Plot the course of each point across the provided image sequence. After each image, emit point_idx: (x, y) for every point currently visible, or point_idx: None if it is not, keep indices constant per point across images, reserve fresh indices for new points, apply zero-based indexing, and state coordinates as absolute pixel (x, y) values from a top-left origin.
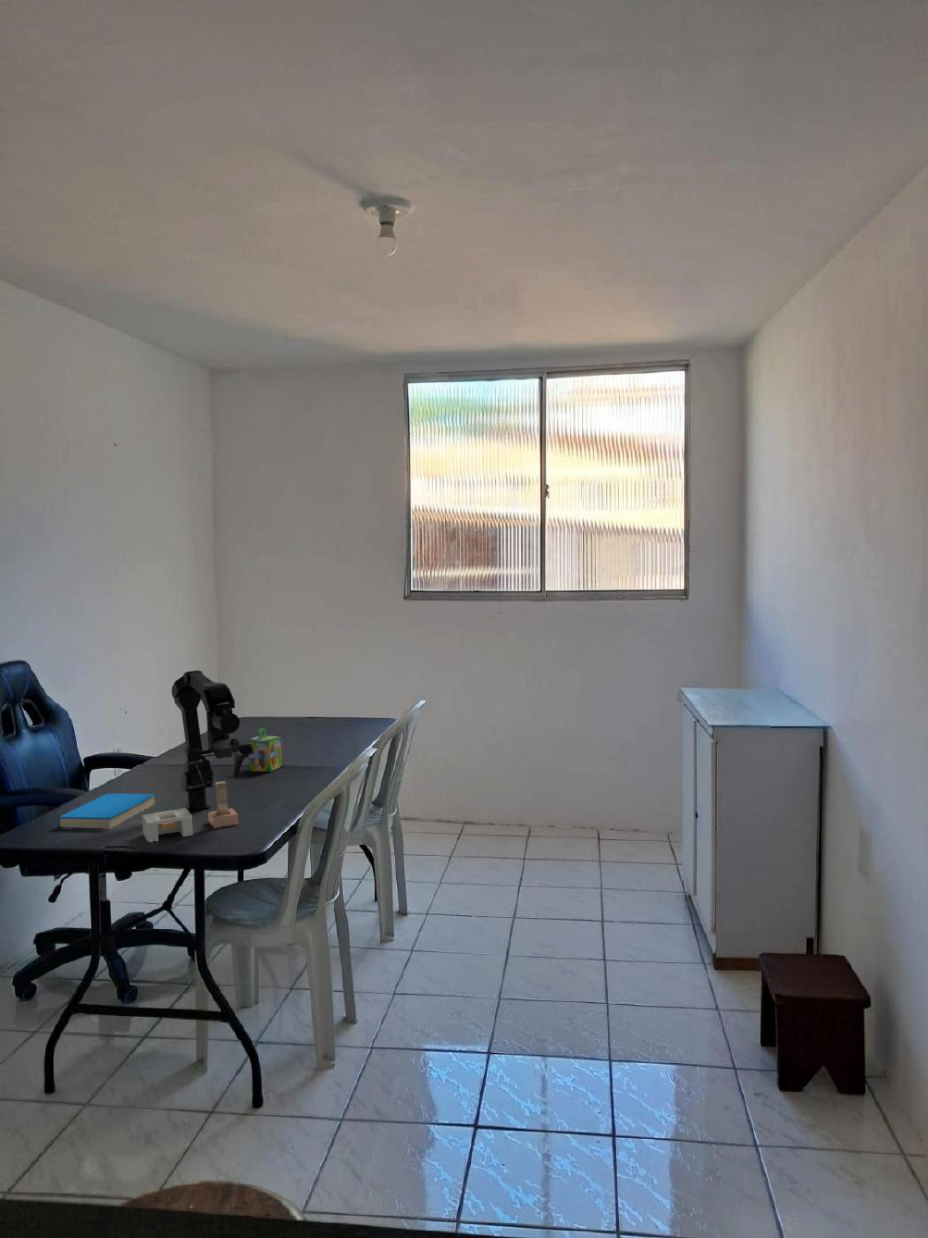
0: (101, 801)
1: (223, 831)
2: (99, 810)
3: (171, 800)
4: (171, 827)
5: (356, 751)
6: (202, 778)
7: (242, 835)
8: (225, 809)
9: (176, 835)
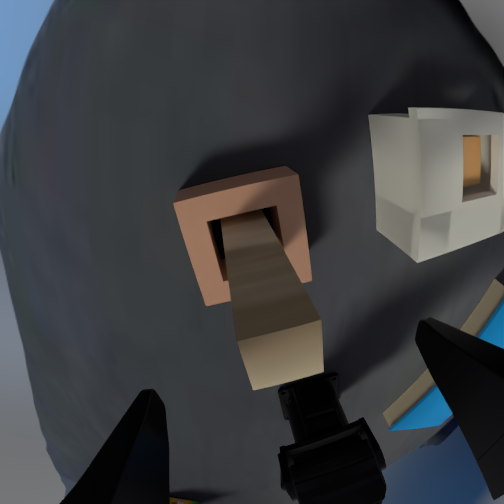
0: None
1: (247, 106)
2: (496, 345)
3: None
4: None
5: None
6: (464, 334)
7: (168, 23)
8: (237, 236)
9: None
